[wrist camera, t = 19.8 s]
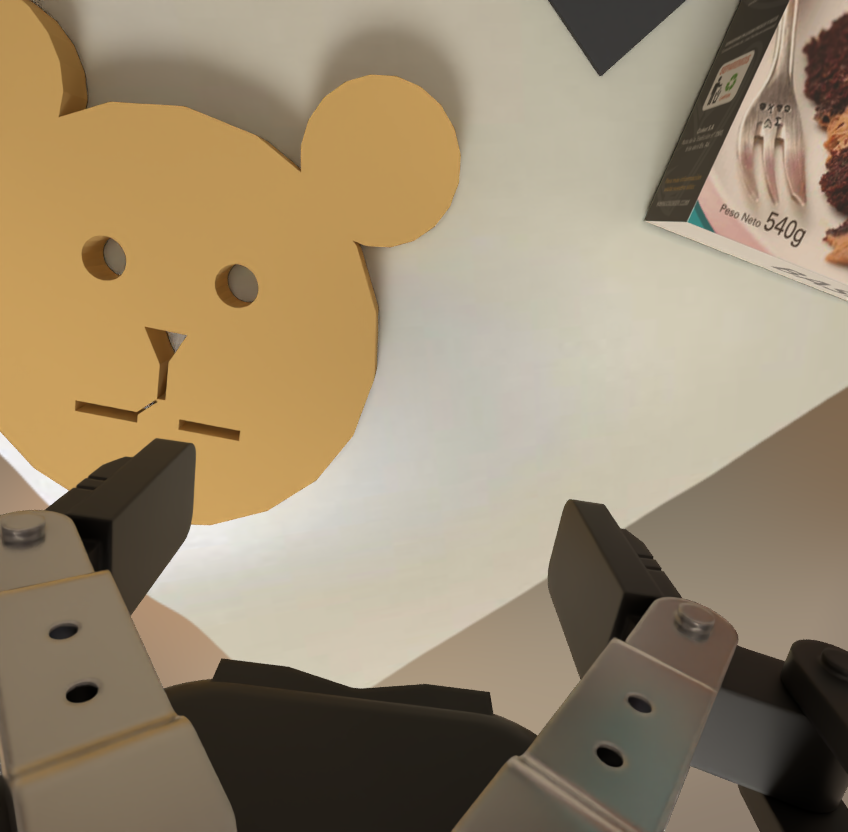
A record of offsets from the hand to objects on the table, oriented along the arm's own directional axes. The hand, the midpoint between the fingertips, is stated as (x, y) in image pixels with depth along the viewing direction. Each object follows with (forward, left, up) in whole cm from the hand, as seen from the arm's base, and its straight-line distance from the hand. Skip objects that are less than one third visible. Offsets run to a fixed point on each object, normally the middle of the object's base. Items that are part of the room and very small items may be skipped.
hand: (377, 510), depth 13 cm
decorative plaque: (-10, -10, -28) cm, 32 cm away
